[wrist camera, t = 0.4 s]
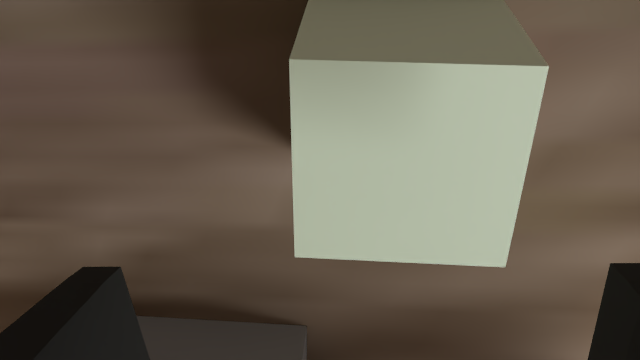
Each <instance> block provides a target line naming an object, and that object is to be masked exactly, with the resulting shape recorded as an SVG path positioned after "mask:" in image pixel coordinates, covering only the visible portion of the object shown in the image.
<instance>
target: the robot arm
mask: <svg viewBox="0 0 640 360" xmlns="http://www.w3.org/2000/svg"><path fill="white" fill-rule="evenodd" d="M0 360H150V358H149V355H148V351H147V348H146V345H145V342H144V339H143V336H142V333H141V329H140V326H139V323H138V320H137V317H136V314H135V311H134V307H133V304H132V301H131V298H130V295H129V292H128V288H127V285H126V282H125V279H124V276H123V273H122V270H121V267H82V268H81V269H80V270H78V271H77V272H76V273H74V274H73V275H72V276H70V277H69V278H68V279H66V280H65V281H64V282H63V283H61V284H60V285H59V286H58V287H56V288H55V289H54V290H53V291H51V292H50V293H49V294H48V295H46V296H45V297H44V298H43V299H42V300H40V301H39V302H38V303H37V304H36V305H34V306H33V307H32V308H31V309H29V310H28V311H27V312H26V313H25V314H23V315H22V316H21V317H20V318H19V319H17V320H16V321H15V322H14V323H13V324H11V325H10V326H9V327H8V328H6V329H5V330H4V331H3V332H1V333H0ZM588 360H640V263H610V267H609V271H608V275H607V280H606V284H605V288H604V292H603V297H602V301H601V305H600V309H599V314H598V318H597V322H596V326H595V331H594V335H593V339H592V343H591V348H590V352H589V356H588Z"/></svg>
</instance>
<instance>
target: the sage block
mask: <svg viewBox="0 0 640 360" xmlns="http://www.w3.org/2000/svg"><path fill="white" fill-rule="evenodd" d="M548 68H549V66H548V64H547V63H546V61H545V60H544V58H543V57H542V56H541V54H540V53H539V51H538V50H537V48H536V47H535V45H534V44H533V42H532V41H531V39H530V38H529V36H528V35H527V34H526V32H525V31H524V29H523V28H522V26H521V25H520V23H519V22H518V20H517V19H516V17H515V16H514V14H513V13H512V11H511V10H510V9H509V7H508V6H507V4H506V3H505V1H504V0H308V3H307V6H306V9H305V12H304V15H303V18H302V21H301V24H300V27H299V30H298V33H297V37H296V40H295V43H294V46H293V49H292V52H291V55H290V58H289V76H290V110H291V145H292V180H293V215H294V250H295V257H301V258H322V259H343V260H363V261H384V262H405V263H426V264H447V265H468V266H489V267H506V262H507V258H508V253H509V248H510V244H511V239H512V235H513V230H514V225H515V221H516V216H517V211H518V207H519V202H520V198H521V193H522V188H523V184H524V179H525V174H526V170H527V165H528V161H529V156H530V151H531V147H532V142H533V137H534V133H535V128H536V124H537V119H538V114H539V110H540V105H541V100H542V96H543V91H544V87H545V82H546V77H547V73H548Z"/></svg>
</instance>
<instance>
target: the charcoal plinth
mask: <svg viewBox="0 0 640 360" xmlns="http://www.w3.org/2000/svg"><path fill="white" fill-rule="evenodd" d="M136 317H137V320H138V323H139V326H140V329H141V333H142V336H143V339H144V342H145V345H146V348H147V351H148V355H149V358H150V360H307V326H300V325H283V324H266V323H249V322H233V321H216V320H199V319H182V318H165V317H148V316H136Z"/></svg>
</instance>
